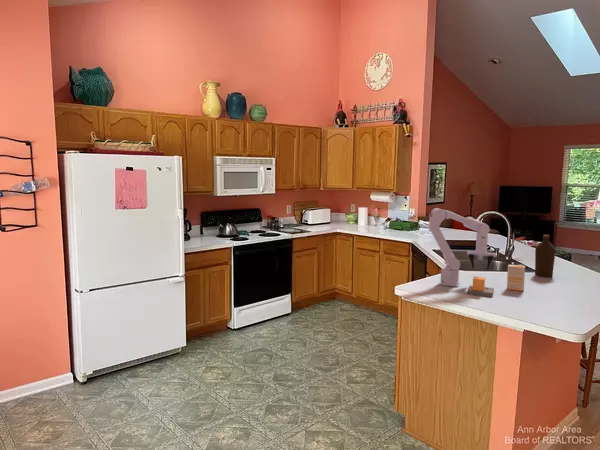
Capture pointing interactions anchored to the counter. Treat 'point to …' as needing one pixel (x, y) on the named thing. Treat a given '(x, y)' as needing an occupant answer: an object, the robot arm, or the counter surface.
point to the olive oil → (544, 258)
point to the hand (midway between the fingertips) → (480, 268)
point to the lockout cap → (478, 283)
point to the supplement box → (515, 277)
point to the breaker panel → (486, 291)
